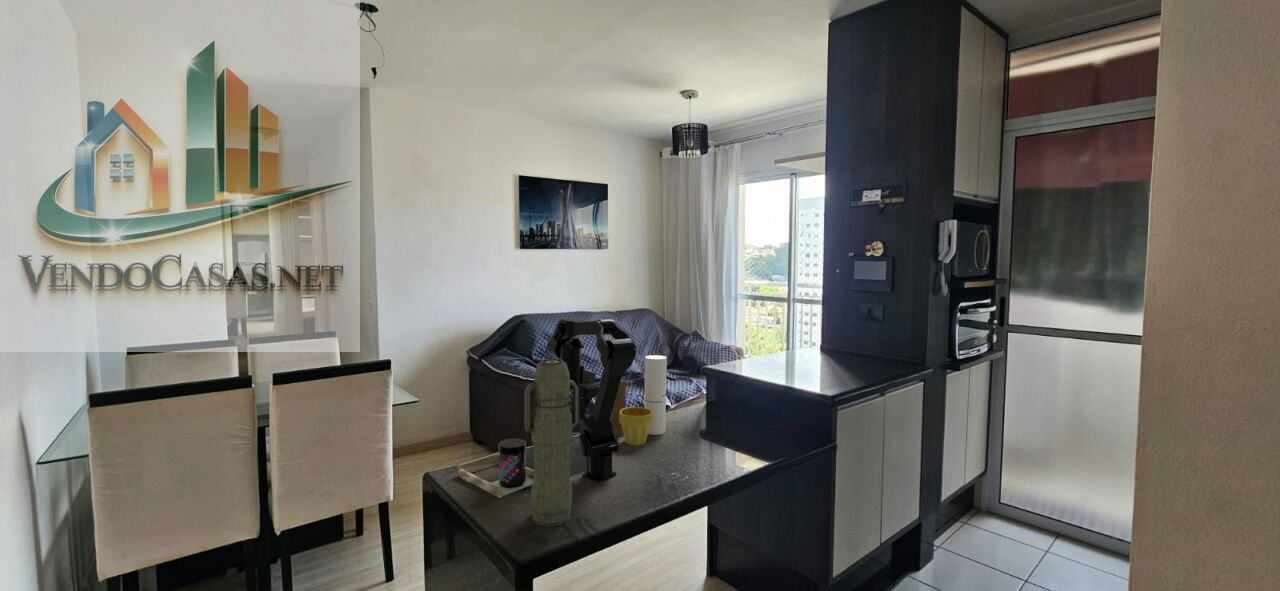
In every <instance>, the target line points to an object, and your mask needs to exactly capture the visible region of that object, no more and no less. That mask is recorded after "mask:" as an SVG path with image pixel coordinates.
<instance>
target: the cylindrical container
mask: <svg viewBox="0 0 1280 591" xmlns="http://www.w3.org/2000/svg"><path fill="white" fill-rule="evenodd" d="M667 359H668V358H667V356H665V355H658V354H657V355H655V354H653V355H651V354H650V355H646V356H645V357H644V396H643V397H644V399H643V400H644V404H643V405H644V406H643V408H647V409H650V410H651V411H652V423H651V424H650V426H649V430H648V435H651V434H652V436H654V435H655V436H659V435H663V434H665V433H666V414H667V411H666V409H667V403H666V402H667V366H668V365H667V364H668V363H667Z"/></svg>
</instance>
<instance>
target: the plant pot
mask: <svg viewBox="0 0 1280 591" xmlns="http://www.w3.org/2000/svg"><path fill="white" fill-rule="evenodd" d="M619 422H620V423H621V424H622V429H623V434H624V435H623V439H624V443H625V444H627V445H629V444H630V445H629V446H642V445H644V444H646V443H647V439H648V435H649V434H648V430H649V426H650V424H651V423H652V411H651V410H650V409H647V408H644V406H643V407H642V406H641V407H640V406H629V407H628V406H627V407H626V408H624V409H622V410H620V412H619ZM641 444H642V445H641Z"/></svg>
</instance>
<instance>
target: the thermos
mask: <svg viewBox="0 0 1280 591" xmlns="http://www.w3.org/2000/svg"><path fill="white" fill-rule="evenodd" d="M570 385H572V390H571V389H570ZM532 390H534V393H533V394H534V399H535V402H534V407H533V411H532V415H531V391H532ZM570 390H571V391H572V392H571V393H572V394H571V393H570ZM570 394H571V398H572V399H571V400H572V404H571V406H572V407H571V408H570V401H569V398H570ZM523 395H524V397H523V398H524V399H523V400H524V404H523V405H524V408H523V409H524V412H523V413H524V415H523V416H524V418H523V419H524V421H523V422H524V430H525V432H526V433H530V434H531V442H532V445H533V470H534V482H533V485H531V489H530V501H531V502H530V505H531V506H530V507H531V519H532V522H533V523H534V524H536V525H538V526H541V527H555V526H560V525H563V524H565V523H567V522H568V521H569V520H571V518H572V505H573V486H572V483H571V480H570V479H571V476H570V475H571V474H570V471H571V470H570V469H571V461H570V460H571V454H570V453H571V450H570V449H571V443H572V442H571V441H572V440H573V430H574V428H575V427H576V426H577V425H578V424H579V420H580V419H579V415H578V410H579V387H578V386H577V385H576V383H575V382H574V381H573V380H570V374H569V371H568V368H567V364H566V362H564V361H563V360H561V359H559V358H551V359H544V360H543V359H542V360H541V361H540V362H537V366H536V369H535V372H534V381H532V382H531V383H528V384H527V385H526V387H525V388H524V394H523Z"/></svg>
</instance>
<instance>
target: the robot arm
mask: <svg viewBox="0 0 1280 591" xmlns="http://www.w3.org/2000/svg"><path fill="white" fill-rule="evenodd" d="M589 335H595V337H596V344H595V346H596V348H597V350H598V353H599V354H600V357H599V359H600V362H601V365H602V367H603V371H602V374H601V377H600V378H601V379H600V381H599V385H598V384H595V380H596V376H597V373H596V372H593V371H592V372H591V371H589V370H585V366H584V365H583V364H581V363H582V362H581V361H582V359H581V357H582V355H581V353H582V352H581V351H582V350H581V349H584V348H585V345H584V344H583V342H581V340H580V339H582V338H585V337H586V336H589ZM607 335H610V336H611V337H612V339H607V340H606V339H605V338H604V336H607ZM636 345H637V344H635V342H634V340H633V339H632V337H631V336H630V334H629V333H628V332H627V331H625V330H624V329H622V328H621V327H620V326H618V324H617V323H616V321H615V320H614V319H611V318H606V319H605V318H602V319H597V320H589V321H587V320H586V319H584V318H580V317H576V318H561V319H559V320H558V323H557V324H556V326H555V329H554V331H553V333H552V335H551V339H549V340H548V342H547V344H546V346H545V349H546V353H547V354H548V356H549V355H550V356H551V357H553V358H555V359H559V360H563V361H564V362H566V364H567V368H568V371H569V374H570V380H573V381H574V382H575V383H576V385H577V386H578V387H579V410H578V419H579V420H581V424H580V426H579V428H580V431H579V434H578V438H579V444H580V451H581V454H582V456H583V458H585V457H586V471H585V472H583V473H582V476H584V477H586V478H589V479H591V480H594V481H596V482H599V483H600V482H603V481H605V480H607V479H610V478H612V477H614V476H616V475H617V472H615V471H613V454H614V453H617V452H619V447H620V446H619V445H620V444H619V443H618V440H617V436H616V437H615V435H614V433H613V428H614V427H613V425H612V423H611V420H610V417H611V414H612V410H613V407H614V403H615V400H616V396H617V393H618V389H619V385H620V382H621V379H623V375H624V374H625V372H626V371H628V370H629V369H630V367H631V366H632V365H633V363H634V360H635V358H636V356H637V351H638V350H637V346H636ZM570 390H571V391H572V385H570ZM593 398H595V400H594V404H593V408H592V411H591V412H592V413H590V414H586V411H587V409H588V406H589V404H590V401H591V400H592V399H593ZM605 444H606V445H605ZM600 445H601V446H600ZM596 446H597V447H596Z"/></svg>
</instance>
